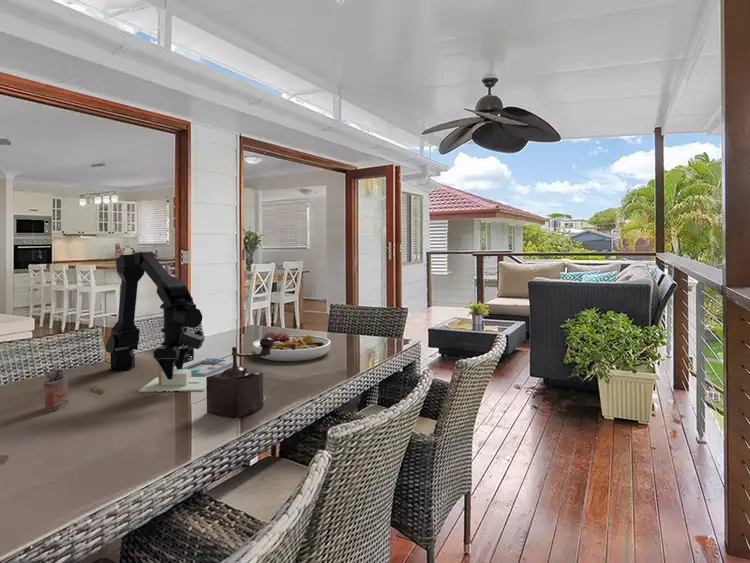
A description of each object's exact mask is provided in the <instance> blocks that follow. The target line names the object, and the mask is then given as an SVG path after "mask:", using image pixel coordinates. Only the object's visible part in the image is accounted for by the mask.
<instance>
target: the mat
mask: <svg viewBox="0 0 750 563" xmlns="http://www.w3.org/2000/svg"><path fill="white" fill-rule="evenodd" d="M207 377H208V376H206V377H201V376H191V381H190V382H189V383H188V384H187V385H162V386H159V376H158V377H155V378H154V379H152V380H151V381H149V382H148V383H147V384H145V385H144V386H143V387H142V388H140V389H139V390H138V393H164V392H163V391H166V392H165V393H168V391H169V392H170V393H171V392H172V393H174V392H173V391H179V392H182V391H183V392H204V391H205V389H206V390H207V385H206V378H207ZM155 391H156V392H155ZM179 392H178V393H179ZM183 392H182V393H183Z"/></svg>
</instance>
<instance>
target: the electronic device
mask: <svg viewBox="0 0 750 563" xmlns="http://www.w3.org/2000/svg"><path fill="white" fill-rule="evenodd" d="M205 363H206V365H207V364H208V365H211V366H207V368H204V369H195V368H194V369H193V368H192V367H195V366H197V365H200V364H205ZM232 366H233V359H224V358H221V359H219V358H213V357H211V358H208V357H199V358H195V359H193V360H192V359H191V360H190V361H188V362H184V364H183V368H182V369H191V377H209V376H212V375H215V374H217V373H219V372H221V371H224V370H226V369H228V368H231V367H232ZM174 370H177V368H176V366H174Z"/></svg>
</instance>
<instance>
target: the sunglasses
mask: <svg viewBox="0 0 750 563" xmlns="http://www.w3.org/2000/svg"><path fill="white" fill-rule="evenodd" d="M187 347H189V346H187ZM188 356H192V357H191V361H192V360H194V359H193V358H195V349H194V348H193V347H192V348H191V349H190V350H189V351H188V352H187V353H186V356H185V358H189V357H188Z"/></svg>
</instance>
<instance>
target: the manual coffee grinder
mask: <svg viewBox="0 0 750 563" xmlns="http://www.w3.org/2000/svg"><path fill="white" fill-rule="evenodd" d="M260 339H261V340H260V345H261V347H262V350H261V352H260V354H256V353H238V347H236V346H232V348H231V351H232V352H231V356H232V360H233V366H230V367H228V368H226V369H224V370H222V372H221V371H220V372H217V373H214V374H211V375H209V376H206V377H207V378H206V385H207V387H206V413H207V414H210V415H214V416H220V417H224V416H225V418H229V417H231V418H230V419H234V418H239V419H242V418H244V417H246V416H248V414H249V415H251V414H252V413H255V412H256V411H258V410H260V409H261V408H263V407H264V406H265V405H264V374H263V372H260V371H254V370H248V368H247V367H245V368H244V366H238V364H237V361H238V359H237V357H239V358H243V357H244V358H245V357H250V358H261V357H260V356H264V357H265V356H267V355H271V353H270V350H271V348H272V347H273V346H274V340H273V339H271V338H267V337H264V336H263V338H260ZM243 416H244V417H243ZM241 417H242V418H241Z"/></svg>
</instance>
